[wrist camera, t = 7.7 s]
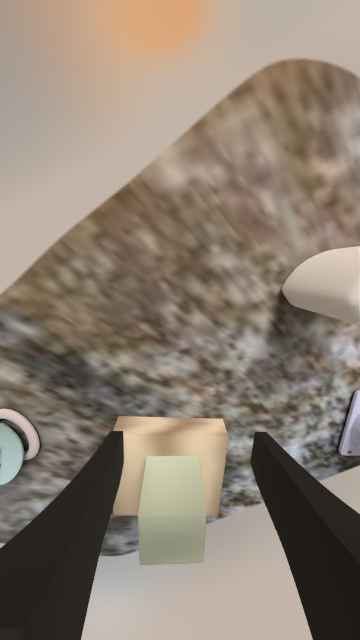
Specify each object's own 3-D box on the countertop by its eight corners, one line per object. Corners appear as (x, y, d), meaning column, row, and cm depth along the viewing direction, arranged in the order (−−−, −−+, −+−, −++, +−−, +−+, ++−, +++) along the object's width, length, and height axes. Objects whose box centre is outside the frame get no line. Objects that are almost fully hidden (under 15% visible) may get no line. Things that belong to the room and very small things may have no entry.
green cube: (198, 455, 20) (206, 515, 15) (196, 495, 21) (203, 562, 16) (146, 456, 20) (137, 516, 15) (147, 496, 21) (139, 564, 16)
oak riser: (221, 415, 22) (228, 437, 20) (212, 486, 25) (217, 515, 22) (119, 412, 22) (111, 434, 19) (120, 485, 24) (113, 515, 21)
